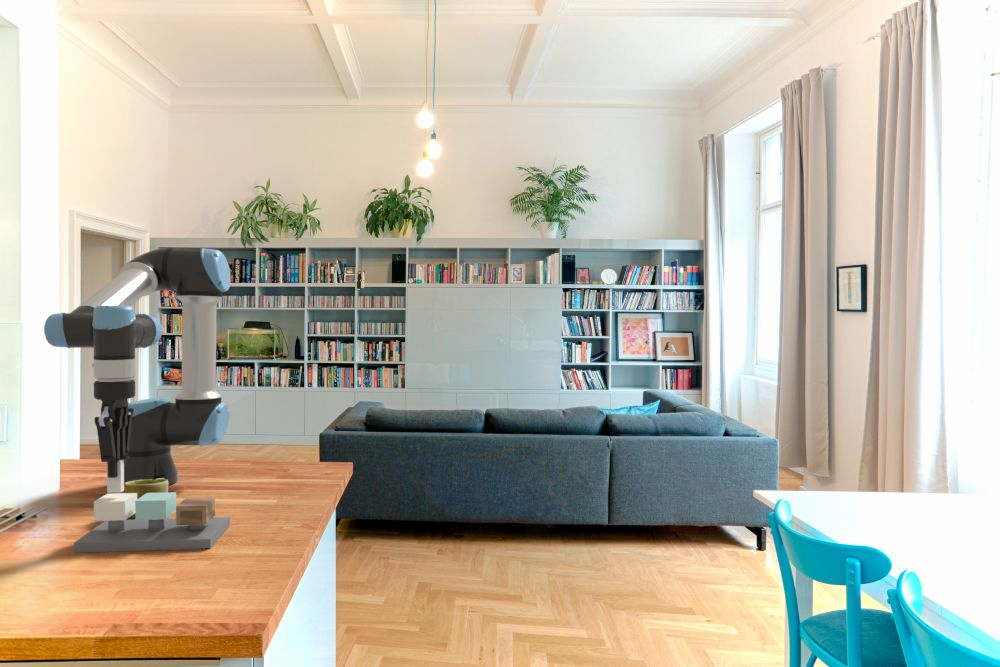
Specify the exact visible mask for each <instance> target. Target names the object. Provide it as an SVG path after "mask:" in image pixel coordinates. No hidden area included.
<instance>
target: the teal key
mask: <svg viewBox="0 0 1000 667" xmlns="http://www.w3.org/2000/svg"><path fill="white" fill-rule="evenodd" d="M176 506H177V491H173V492H171V491H170V492H169V491H168V492H163V493H146V494H145V495H143V496H142V497H140V498H139V499H137V500H136V501H135V520H162V519H169V517H170V516H172V515H173V514H174V513H176Z"/></svg>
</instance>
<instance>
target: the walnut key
mask: <svg viewBox="0 0 1000 667" xmlns="http://www.w3.org/2000/svg"><path fill="white" fill-rule="evenodd" d="M215 516H216V497H213V496H211V497H210V496H209V497H208V496H207V497H185V498H184V499H183V500H182V501H181V502H179V503H178V504H176V511H175V518H176V525H206V524H207V523H208V522H209V521H210V520H211V519H212V518H215Z"/></svg>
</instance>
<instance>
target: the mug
mask: <svg viewBox="0 0 1000 667" xmlns="http://www.w3.org/2000/svg"><path fill="white" fill-rule="evenodd" d="M163 492H169V485H168V480H167V479H164V478H159V479H156V480H152V479H148V480H135V481H129V482H126V483H125V485H124V491H123V493H137V499H139V498H140V497H142V496H143V495H145V494H146V493H163ZM128 519H129V520H131V519H135V513H134V514H133V515H132V516H130V517H129V518H128Z"/></svg>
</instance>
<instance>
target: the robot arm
mask: <svg viewBox="0 0 1000 667" xmlns="http://www.w3.org/2000/svg"><path fill="white" fill-rule="evenodd" d="M229 266H230V265H229V263H228V260H227V258H226V256H225V255H224V253H223V252H221V251H220V250H218V249H214V248H205V247H202V248H200V247H199V248H194V247H193V248H186V247H185V248H180V247H179V248H177V247H176V248H175V247H173V248H172V247H163V248H158V249H153V250H150V251H147V252H144V253H142V254H139V255H138V256H136V257H134V258H133V259H131V260H130V261H128V262H127V263H126V264H124V265H122V267H121V268H120V270H119V273H118V275H116V277H115V278H113V279H112V280H111V281H109V282H107V284H105V285H104V286H103V287H102V288H100V289H99V290H98V291H96V292H95V293H94V294H92V295H91V296H90V297H89V298H88V299H86V300H84V302H83V303H81V304H80V305H79V306H77V307H76V308H75V309H73V310H72V311H71V312H68V313H67V312H66V313H65V312H60V313H59V312H58V313H52V314H50V315H49V316H47V318H46V320H45V322H44V326H43V327H44V331H43V333H44V337H45V340H46V342H47V343H48V344H49V345H50V346H52V347H54V348H55V347H56V348H67V349H71V348H73V349H75V348H81V349H83V348H89V349H90V348H91V349H92V348H93V363H92V364H91V367H92V368H93V378H94V379H95V380H96V381H94V382H93V398H94V399H95V400H99V401H101V406H100V416H95V417H94V424H95V427H96V431H97V438H98V445H99V453H100V460H101V463H106V492H107V493H106V494H111V493H123V492H124V485H125V483H126V482H129V481H135V480H148V479H152V480H156V479H159V478H164V479H167V480H168V486H171V485H174V484H175V483H177V482H178V480H179V474H178V470H177V467H176V464H175V462H174V459H173V456H172V453H171V452H172V451H171V450H172V449H171V446H177V447H179V446H200V447H203V446H204V447H205V446H215V445H218V444H219V443H220V442H221V441H222V440H223V439H224V437H225V435H226V433H227V429H228V426H229V425H228V424H229V421H230V410H229V405H228V404H227V403H225V402H222V394H220V393H219V392H218V391H217V386H216V385H217V380H216V379H217V378H216V375H217V366H216V365H217V305H218V303H219V302H220V301H221V300H222V299H223V293H225V292H228V291H229V289H230V288H231V287H230V286H231V282H232V281H231V270H230V267H229ZM157 291H158V292H159V291H176V294H175V296H176V299H178V300H179V301H180V302H181V304H182V306H181V307H182V310H181V312H182V313H181V314H182V318H181V323H182V325H181V326H182V328H181V332H182V333H181V391H180V392H179V393H178V394H177V395H176V396H175V402H172V400H171V398H170V397H168V396H167V397H165V396H162V397H152V398H145V399H140V400H136V401H132V402H128V399H133V398H134V397H135V396H136V380H135V379H133V378H135V377H136V349H142V348H143V349H146V348H149V347H151V346H154V345H155V344H157V343H158V342H159V341H160V340H161V337H162V335H163V327H162V324H161V322H160V321H159V319H158V318H157V317H155V316H153V315H150V314H147V313H137V314H136V313H135V307H133V306H134V305H135V304H136V303H137V302H138V301H139V300H141V298H143V297H148V296H149V295H151V294H153V293H154V292H157Z"/></svg>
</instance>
